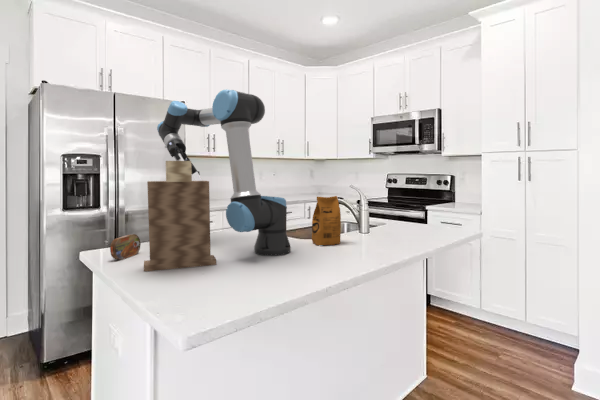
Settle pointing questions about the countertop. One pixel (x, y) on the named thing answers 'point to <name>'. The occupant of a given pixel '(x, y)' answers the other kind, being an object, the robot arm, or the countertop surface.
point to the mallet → (178, 171)
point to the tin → (125, 247)
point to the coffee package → (326, 221)
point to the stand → (178, 225)
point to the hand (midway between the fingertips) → (191, 174)
